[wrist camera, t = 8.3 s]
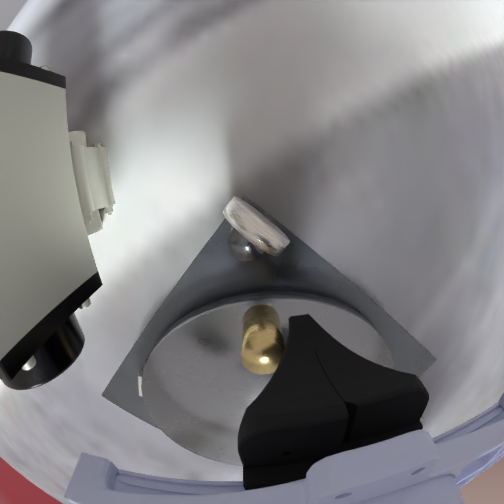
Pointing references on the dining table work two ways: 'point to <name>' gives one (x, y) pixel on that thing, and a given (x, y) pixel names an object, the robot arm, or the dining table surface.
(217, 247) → the base plate
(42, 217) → the pneumatic valve
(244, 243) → the silver oval knob
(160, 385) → the turntable
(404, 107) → the dining table surface
